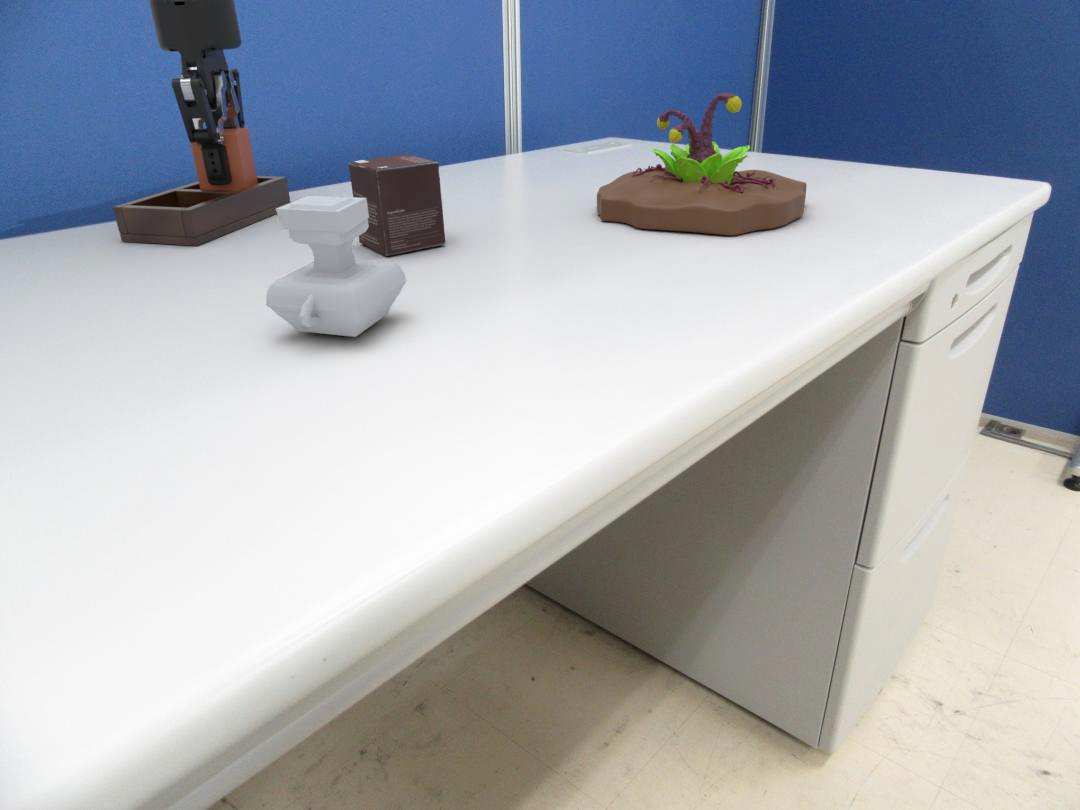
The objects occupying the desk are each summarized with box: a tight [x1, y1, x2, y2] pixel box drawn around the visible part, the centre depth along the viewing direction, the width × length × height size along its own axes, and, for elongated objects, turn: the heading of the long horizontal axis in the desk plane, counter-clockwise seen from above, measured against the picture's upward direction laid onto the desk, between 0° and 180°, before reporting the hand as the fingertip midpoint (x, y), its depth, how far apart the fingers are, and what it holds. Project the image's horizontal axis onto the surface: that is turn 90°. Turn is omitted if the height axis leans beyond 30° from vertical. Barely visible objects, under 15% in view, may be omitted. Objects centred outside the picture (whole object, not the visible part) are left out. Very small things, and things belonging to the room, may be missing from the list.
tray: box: [112, 175, 291, 247], centre depth 80 cm, size 8×16×3 cm, turn 164°
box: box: [347, 153, 446, 257], centre depth 70 cm, size 6×6×7 cm
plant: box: [596, 92, 808, 236], centre depth 78 cm, size 20×20×11 cm
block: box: [189, 127, 258, 191], centre depth 81 cm, size 5×5×6 cm
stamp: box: [265, 195, 407, 338], centre depth 51 cm, size 9×7×8 cm
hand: (227, 178), depth 82 cm, fingers closed on block, 4 cm apart
